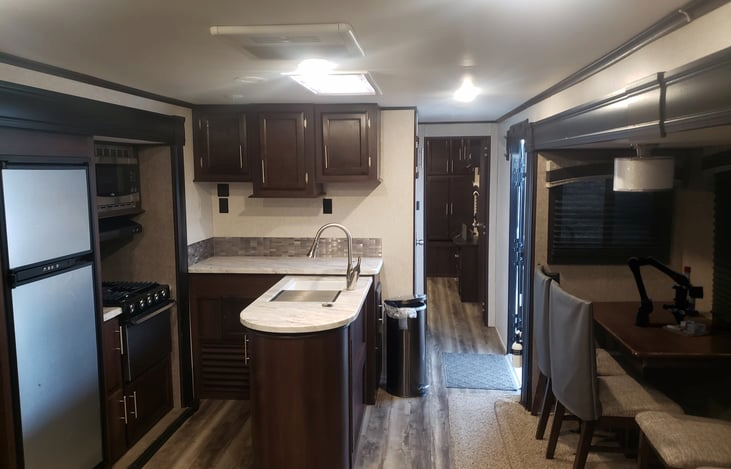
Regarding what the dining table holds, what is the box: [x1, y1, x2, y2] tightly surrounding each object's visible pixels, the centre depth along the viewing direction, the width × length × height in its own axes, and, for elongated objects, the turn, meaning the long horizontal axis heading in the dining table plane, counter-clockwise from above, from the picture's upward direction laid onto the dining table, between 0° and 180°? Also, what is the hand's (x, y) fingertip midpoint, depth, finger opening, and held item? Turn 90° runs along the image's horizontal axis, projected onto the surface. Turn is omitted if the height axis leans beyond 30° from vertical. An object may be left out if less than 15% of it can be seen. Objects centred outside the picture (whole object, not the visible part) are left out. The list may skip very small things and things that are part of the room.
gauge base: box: [662, 322, 709, 338], centre depth 288 cm, size 14×16×6 cm
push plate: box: [677, 319, 695, 330], centre depth 287 cm, size 10×3×4 cm, turn 107°
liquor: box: [683, 265, 697, 318], centre depth 321 cm, size 9×9×30 cm
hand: (679, 324), depth 292 cm, fingers closed
